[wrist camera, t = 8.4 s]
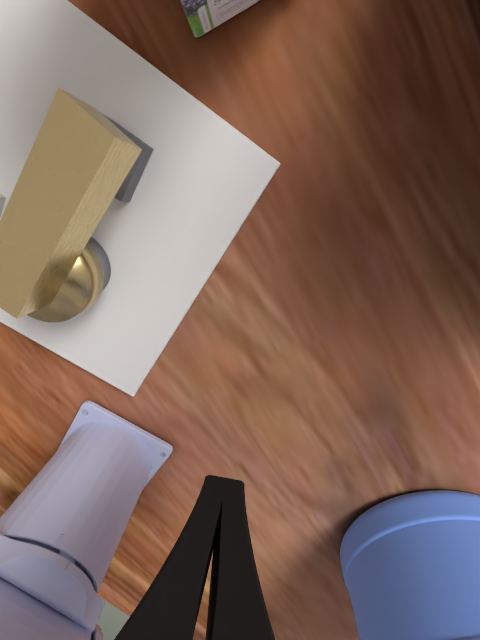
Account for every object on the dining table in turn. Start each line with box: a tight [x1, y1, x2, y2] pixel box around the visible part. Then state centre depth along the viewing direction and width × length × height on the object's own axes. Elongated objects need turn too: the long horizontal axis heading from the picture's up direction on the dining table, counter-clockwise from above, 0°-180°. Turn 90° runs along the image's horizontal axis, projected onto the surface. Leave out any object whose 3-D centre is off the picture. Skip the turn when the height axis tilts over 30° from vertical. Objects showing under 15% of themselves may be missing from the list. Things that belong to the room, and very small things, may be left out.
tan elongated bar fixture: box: [0, 87, 142, 323], centre depth 13 cm, size 5×11×4 cm, turn 139°
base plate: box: [0, 0, 280, 397], centre depth 16 cm, size 18×18×2 cm
